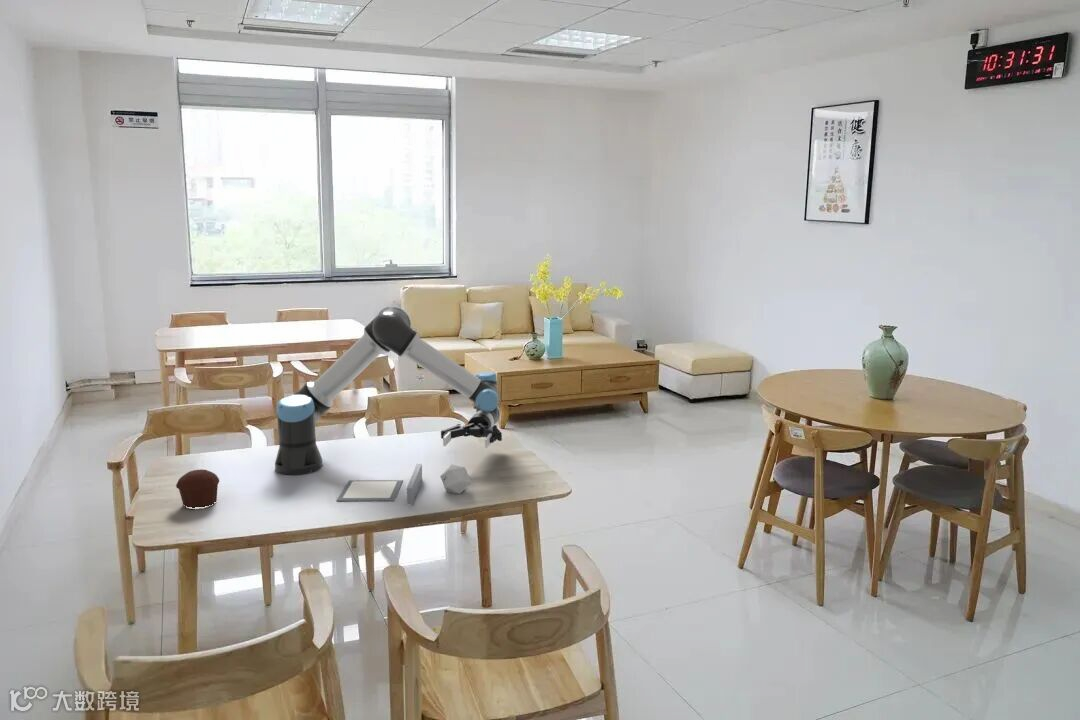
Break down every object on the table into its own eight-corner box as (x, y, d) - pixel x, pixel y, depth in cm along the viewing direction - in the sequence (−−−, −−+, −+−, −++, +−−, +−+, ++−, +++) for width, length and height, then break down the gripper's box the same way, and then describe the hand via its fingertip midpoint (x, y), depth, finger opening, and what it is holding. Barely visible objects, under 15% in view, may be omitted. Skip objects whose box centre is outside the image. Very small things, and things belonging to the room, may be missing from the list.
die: (444, 487, 249) (432, 469, 242) (467, 472, 250) (456, 454, 244) (454, 504, 243) (442, 486, 236) (478, 488, 244) (467, 470, 238)
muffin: (215, 494, 241) (213, 462, 239) (226, 505, 232) (223, 472, 230) (173, 502, 234) (170, 470, 232) (182, 514, 225) (179, 481, 223)
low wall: (407, 504, 233) (406, 488, 232) (417, 478, 255) (416, 463, 254) (412, 504, 233) (412, 488, 232) (422, 478, 255) (421, 463, 254)
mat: (336, 501, 235) (336, 499, 235) (349, 481, 252) (348, 479, 252) (394, 501, 235) (393, 499, 235) (402, 481, 252) (402, 479, 252)
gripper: (516, 436, 270) (504, 455, 250) (445, 433, 274) (427, 452, 254) (516, 414, 269) (503, 432, 248) (444, 412, 273) (426, 430, 252)
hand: (465, 442), depth 251 cm, fingers open, 13 cm apart
